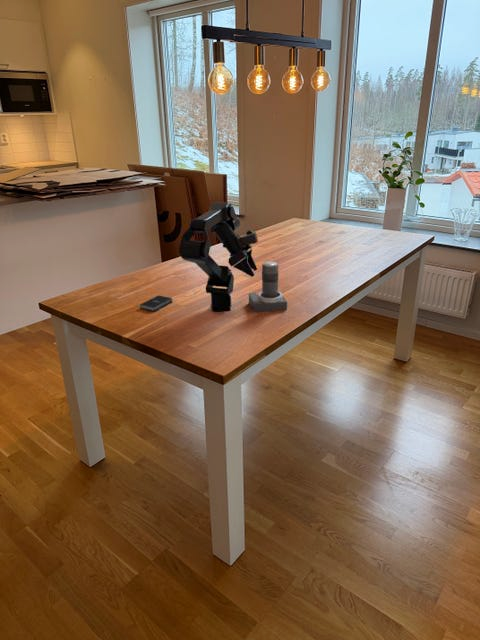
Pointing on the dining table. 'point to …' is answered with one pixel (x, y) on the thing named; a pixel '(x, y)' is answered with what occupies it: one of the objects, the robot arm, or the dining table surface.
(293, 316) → the dining table surface
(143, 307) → the external hard drive
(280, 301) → the camera body
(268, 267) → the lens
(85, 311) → the dining table surface
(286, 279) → the dining table surface
